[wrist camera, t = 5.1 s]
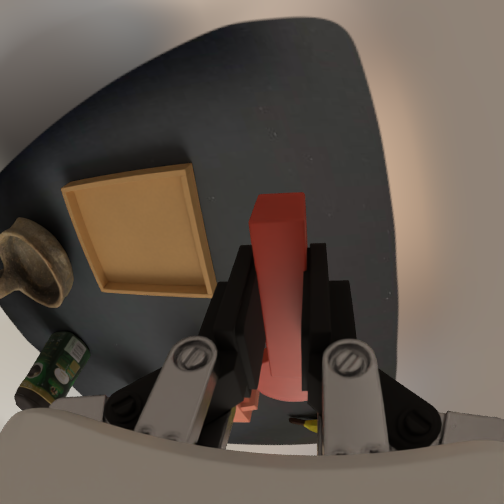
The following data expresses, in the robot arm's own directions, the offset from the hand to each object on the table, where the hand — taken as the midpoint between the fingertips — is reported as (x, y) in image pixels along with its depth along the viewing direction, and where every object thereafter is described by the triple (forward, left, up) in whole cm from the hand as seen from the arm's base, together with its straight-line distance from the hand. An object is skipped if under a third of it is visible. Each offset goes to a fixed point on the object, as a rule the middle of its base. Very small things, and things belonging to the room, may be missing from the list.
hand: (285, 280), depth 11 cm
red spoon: (+2, 0, -1) cm, 2 cm away
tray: (+8, -18, -18) cm, 27 cm away
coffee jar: (+32, -44, -19) cm, 58 cm away
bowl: (+10, -37, -19) cm, 43 cm away
